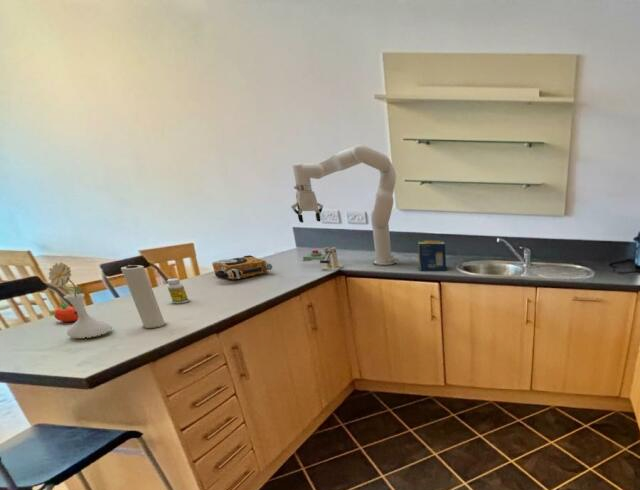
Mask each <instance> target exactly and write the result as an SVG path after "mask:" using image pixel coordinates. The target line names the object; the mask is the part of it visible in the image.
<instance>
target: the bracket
mask: <svg viewBox="0 0 640 490" xmlns="http://www.w3.org/2000/svg"><path fill="white" fill-rule="evenodd" d="M328 248H331V252H332V254H331V255H330V256H329V258H328V260H327V261H330V263H325V264H326V266H324V267H322V270H338V269H340V268H342V267H344V265H343V264H339V260H338V259H339V258H338V255H337V254H338V252H337V248H336V246H334V247H329V246H325V247H324V248H323V252H324V254H325V258H326V256H327V253H328V252H327V250H328ZM331 258H332V259H331Z"/></svg>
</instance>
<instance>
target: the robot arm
mask: <svg viewBox="0 0 640 490" xmlns="http://www.w3.org/2000/svg"><path fill="white" fill-rule="evenodd" d="M362 163H363V164H364V165H366V166H369V167H371V168H374V169H375V170H378V171H379V174H380V175H379V176H380V177H379V181H378V182H379V183H378V186H377V187H378V188H377V191H376V194H375V201H374V205H373V210H372V211H371V213H370V221H371V227H372V236H373V245H374V253H375V254H374V255H375V260H374V261H373V263H374V265H377V266H391V265H394V264H395V263H396V262H399V261H400V258H399V257H397V256H396V257H394V255H393V254H392V246H391V236H390V234H391V233H390V225H389V222H390V219H391V215H392V210H393V207H394V196H393V195H394V192H395V186H396V181H397V180H396V179H397V173H396V170H395V167H394V165H393V163H392V162H391V160H390V158H389V156H388V155H386V154H384V153H382V152H380V151H378V150H375V149H373V148H371V147H368V146H366V145H365V144H362V143H358V144H355V145H353V146H350V147H348V148H345V149H343V150H341V151H338V152H335V153H334V154H332V155H330V156H329V157H326V158H324V159H322V160H320V161H317V162H314V163H304V162H294V163H292V170H293V175H294V181H295V185H294V186H293V189H294V190H296V191H295V201H296V202H295V203H294V204H293V205H290V208H291V209H292V211H293V213H295V214H296V215H297V218H298V222H299V223H302V224H303V223H304V217H303V215H302V213H303V212H315V220H316V222H319V223H320V222H321V220H322V218H321V213H322V211H323V207H324V205H323V204H321V203H319V202H318V200H317V197H316V193H315V191H313V187H312V183H311V179H315V180H319V179H322V178H324V177H327V176H330V175H331V174H335V173H337V172H341V171H342V172H343V171H345V170H347V169H350V168H353V167H354V166H357V165H359V164H362Z"/></svg>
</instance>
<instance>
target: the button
mask: <svg viewBox="0 0 640 490" xmlns="http://www.w3.org/2000/svg"><path fill="white" fill-rule="evenodd" d="M311 252H312V253H319V252H320V251H319V250H318V249H312V250H311Z"/></svg>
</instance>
